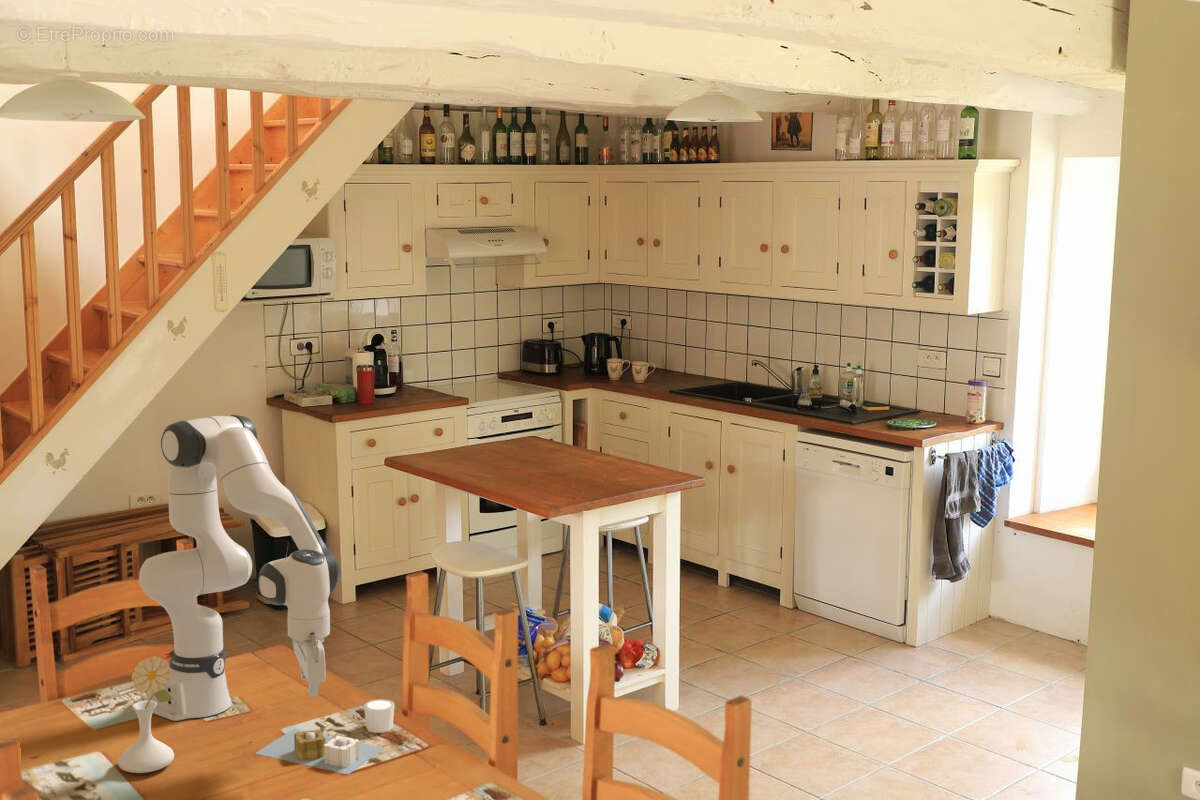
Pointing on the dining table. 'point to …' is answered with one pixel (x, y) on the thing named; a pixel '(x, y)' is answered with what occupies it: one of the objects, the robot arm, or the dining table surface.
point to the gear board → (286, 751)
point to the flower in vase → (148, 718)
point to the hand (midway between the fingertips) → (309, 687)
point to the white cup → (379, 715)
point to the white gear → (341, 752)
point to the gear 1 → (309, 745)
